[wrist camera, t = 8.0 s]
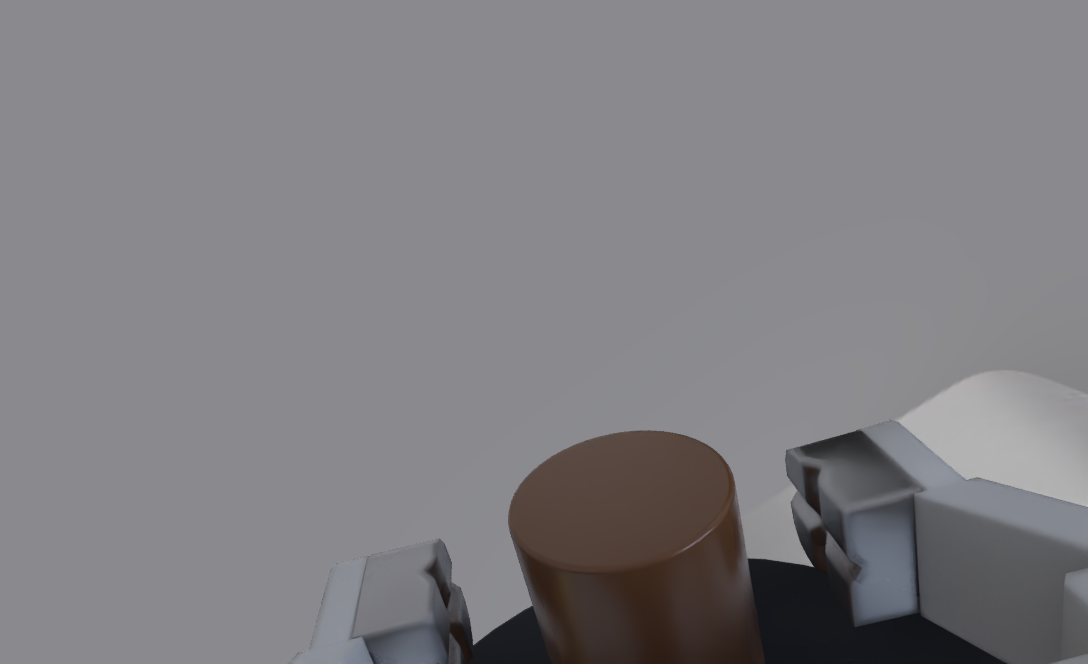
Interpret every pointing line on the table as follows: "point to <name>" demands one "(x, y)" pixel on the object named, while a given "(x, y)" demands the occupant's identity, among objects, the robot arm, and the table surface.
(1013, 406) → the table surface
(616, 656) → the lid
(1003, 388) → the table surface
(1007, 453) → the table surface
